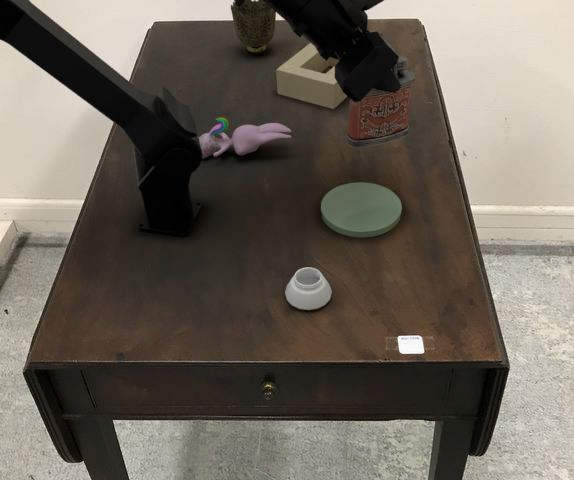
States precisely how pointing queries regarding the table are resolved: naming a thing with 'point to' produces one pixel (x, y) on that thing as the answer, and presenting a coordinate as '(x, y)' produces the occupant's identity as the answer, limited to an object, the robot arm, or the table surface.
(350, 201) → the plate
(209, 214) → the table surface
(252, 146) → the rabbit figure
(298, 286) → the white jar
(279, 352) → the table surface
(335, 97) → the hollow beige frame
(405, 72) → the lighter
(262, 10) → the cup
